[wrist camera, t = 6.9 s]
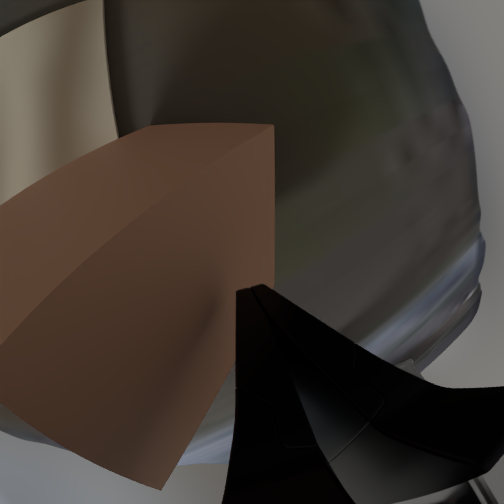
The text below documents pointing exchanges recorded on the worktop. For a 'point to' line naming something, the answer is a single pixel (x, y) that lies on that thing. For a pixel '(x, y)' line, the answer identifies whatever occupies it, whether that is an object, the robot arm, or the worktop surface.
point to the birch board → (53, 94)
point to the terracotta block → (134, 289)
